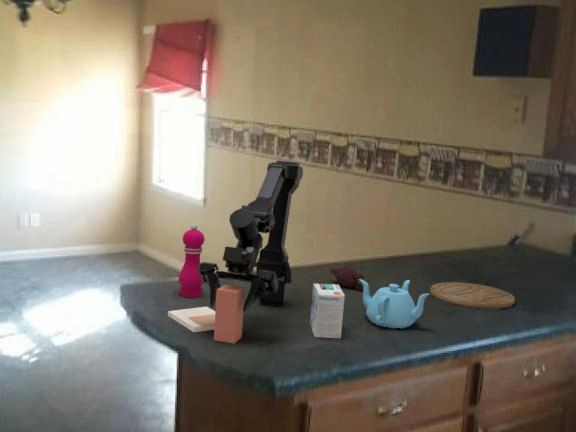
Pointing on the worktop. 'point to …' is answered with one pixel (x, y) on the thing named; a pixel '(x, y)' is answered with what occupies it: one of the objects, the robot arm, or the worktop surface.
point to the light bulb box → (327, 310)
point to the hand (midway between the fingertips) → (227, 308)
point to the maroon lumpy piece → (348, 276)
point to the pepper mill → (191, 263)
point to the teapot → (392, 306)
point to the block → (229, 313)
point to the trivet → (472, 295)
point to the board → (195, 318)
